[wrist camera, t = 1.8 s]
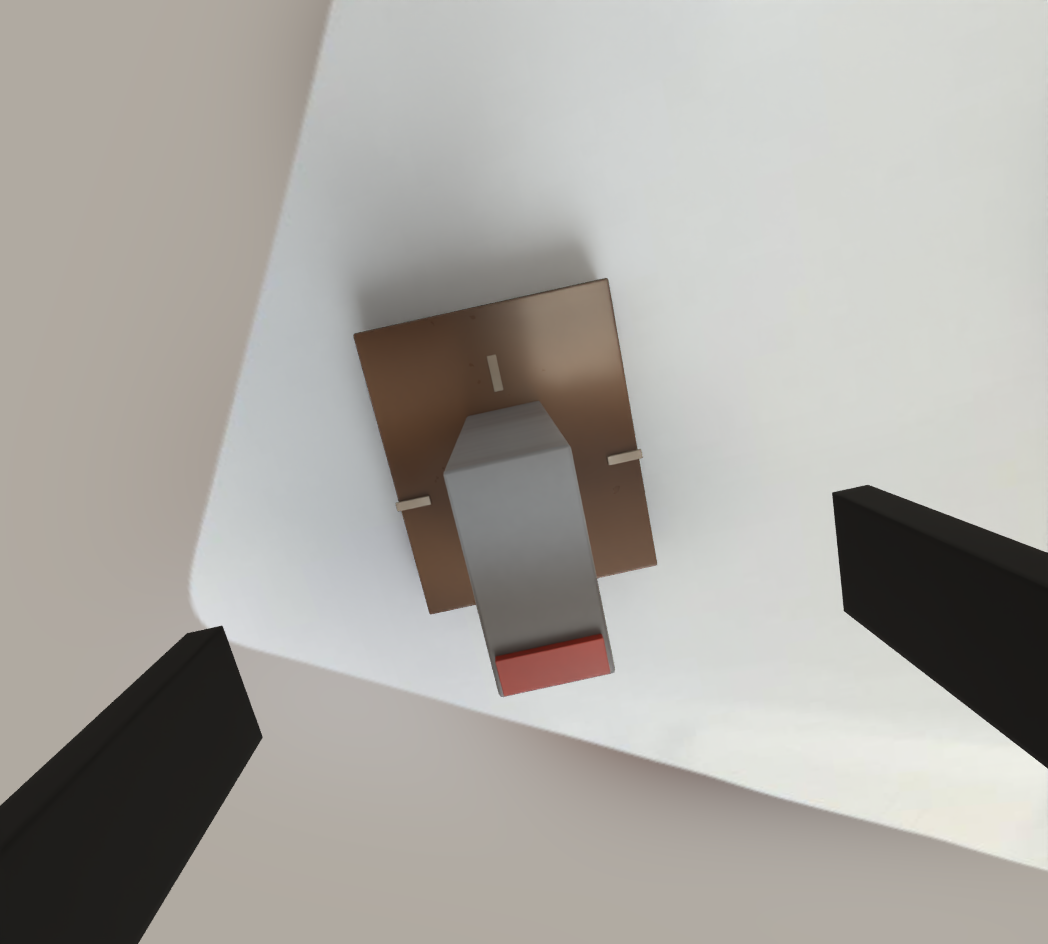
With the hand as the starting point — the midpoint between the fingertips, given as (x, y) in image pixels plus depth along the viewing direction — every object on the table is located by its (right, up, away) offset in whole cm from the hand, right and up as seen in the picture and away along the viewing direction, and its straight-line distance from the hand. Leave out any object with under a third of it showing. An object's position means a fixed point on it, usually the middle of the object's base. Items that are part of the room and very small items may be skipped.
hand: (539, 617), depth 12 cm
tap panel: (-1, +4, +13) cm, 14 cm away
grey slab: (-1, +3, +11) cm, 12 cm away
